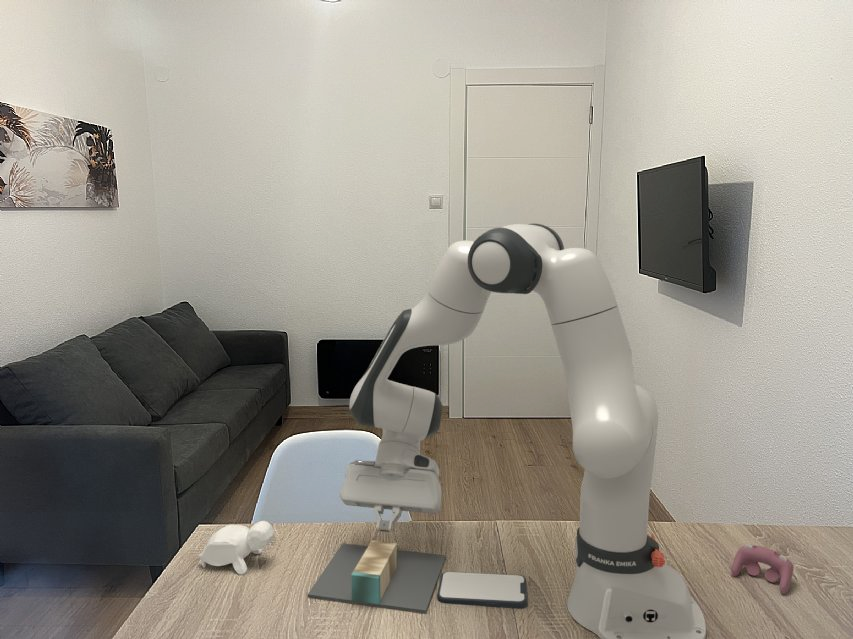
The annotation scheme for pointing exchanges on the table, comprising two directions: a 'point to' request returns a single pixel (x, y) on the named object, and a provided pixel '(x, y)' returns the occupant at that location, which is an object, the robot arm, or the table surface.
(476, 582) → the smartphone
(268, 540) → the white tortoise figurine
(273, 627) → the table surface
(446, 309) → the robot arm
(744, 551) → the video game controller
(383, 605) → the rubber mat
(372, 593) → the birch block
